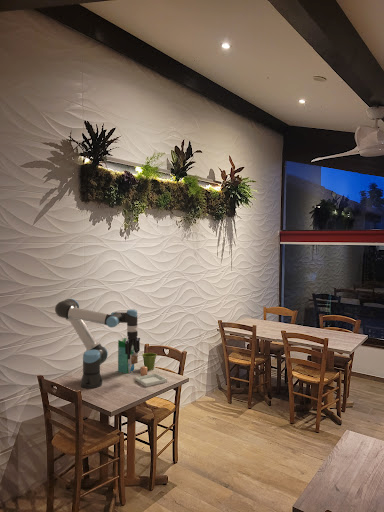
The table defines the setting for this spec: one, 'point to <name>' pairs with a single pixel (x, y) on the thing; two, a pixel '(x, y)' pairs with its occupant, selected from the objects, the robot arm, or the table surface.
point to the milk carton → (124, 357)
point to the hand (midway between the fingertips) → (132, 362)
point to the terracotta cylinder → (143, 371)
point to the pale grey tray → (151, 379)
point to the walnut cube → (134, 359)
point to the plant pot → (149, 360)
